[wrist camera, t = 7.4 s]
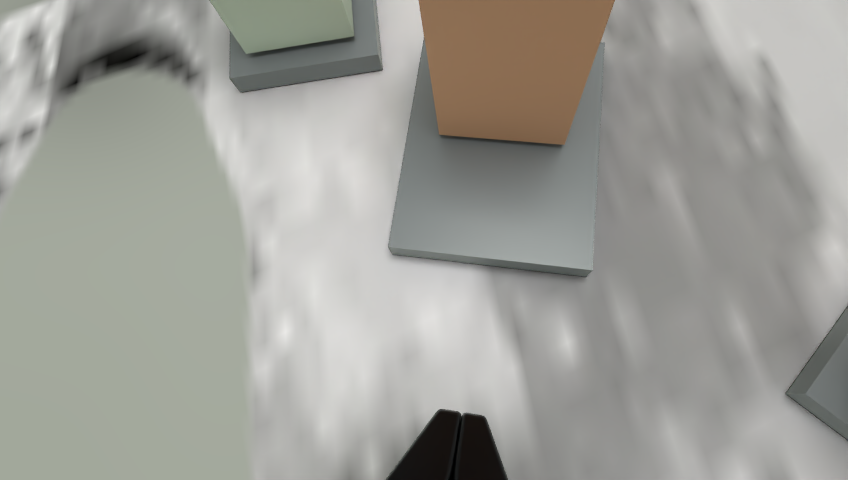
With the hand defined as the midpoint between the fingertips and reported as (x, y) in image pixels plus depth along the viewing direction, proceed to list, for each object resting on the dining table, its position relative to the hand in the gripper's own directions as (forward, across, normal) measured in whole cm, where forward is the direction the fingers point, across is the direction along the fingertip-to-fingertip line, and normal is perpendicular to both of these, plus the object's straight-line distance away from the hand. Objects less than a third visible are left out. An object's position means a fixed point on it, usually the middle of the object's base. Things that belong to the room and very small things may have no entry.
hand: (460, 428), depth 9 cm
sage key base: (+16, +9, -5) cm, 19 cm away
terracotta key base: (+12, 0, -1) cm, 13 cm away
